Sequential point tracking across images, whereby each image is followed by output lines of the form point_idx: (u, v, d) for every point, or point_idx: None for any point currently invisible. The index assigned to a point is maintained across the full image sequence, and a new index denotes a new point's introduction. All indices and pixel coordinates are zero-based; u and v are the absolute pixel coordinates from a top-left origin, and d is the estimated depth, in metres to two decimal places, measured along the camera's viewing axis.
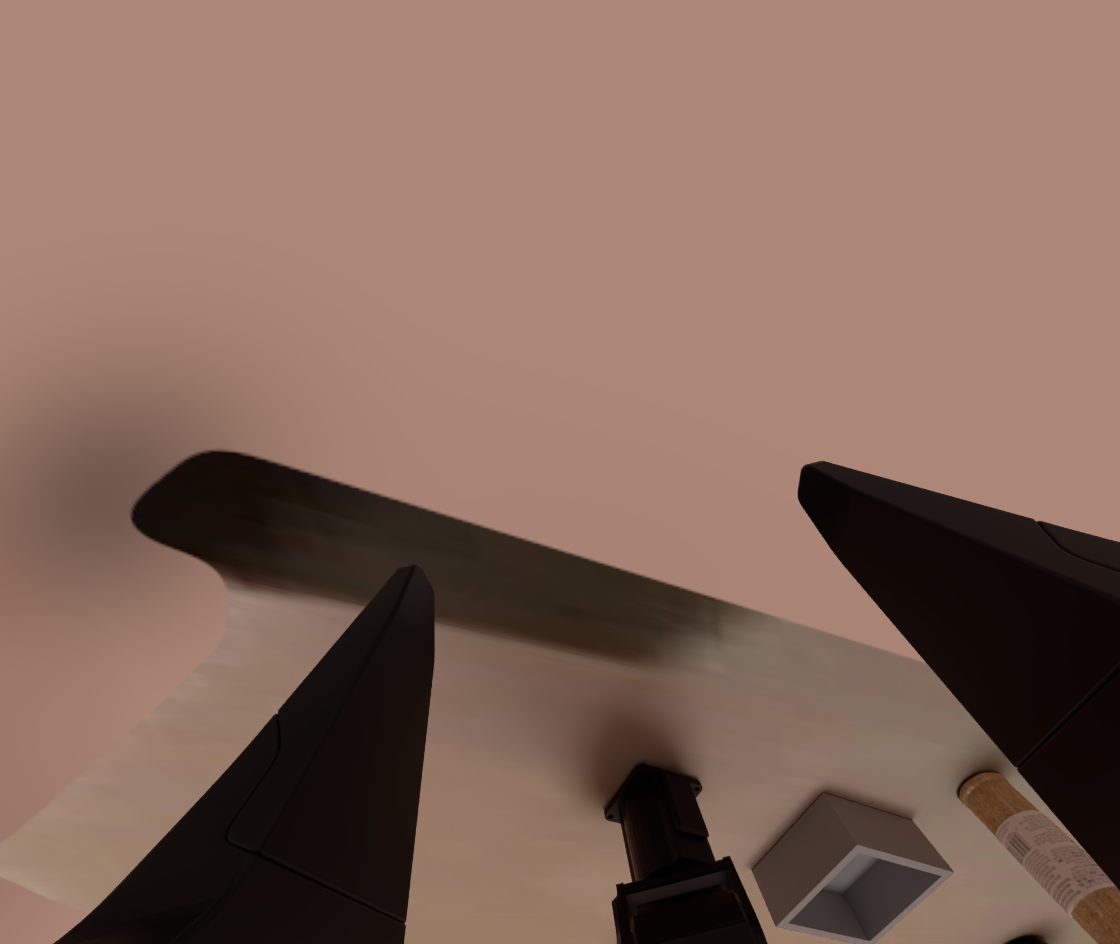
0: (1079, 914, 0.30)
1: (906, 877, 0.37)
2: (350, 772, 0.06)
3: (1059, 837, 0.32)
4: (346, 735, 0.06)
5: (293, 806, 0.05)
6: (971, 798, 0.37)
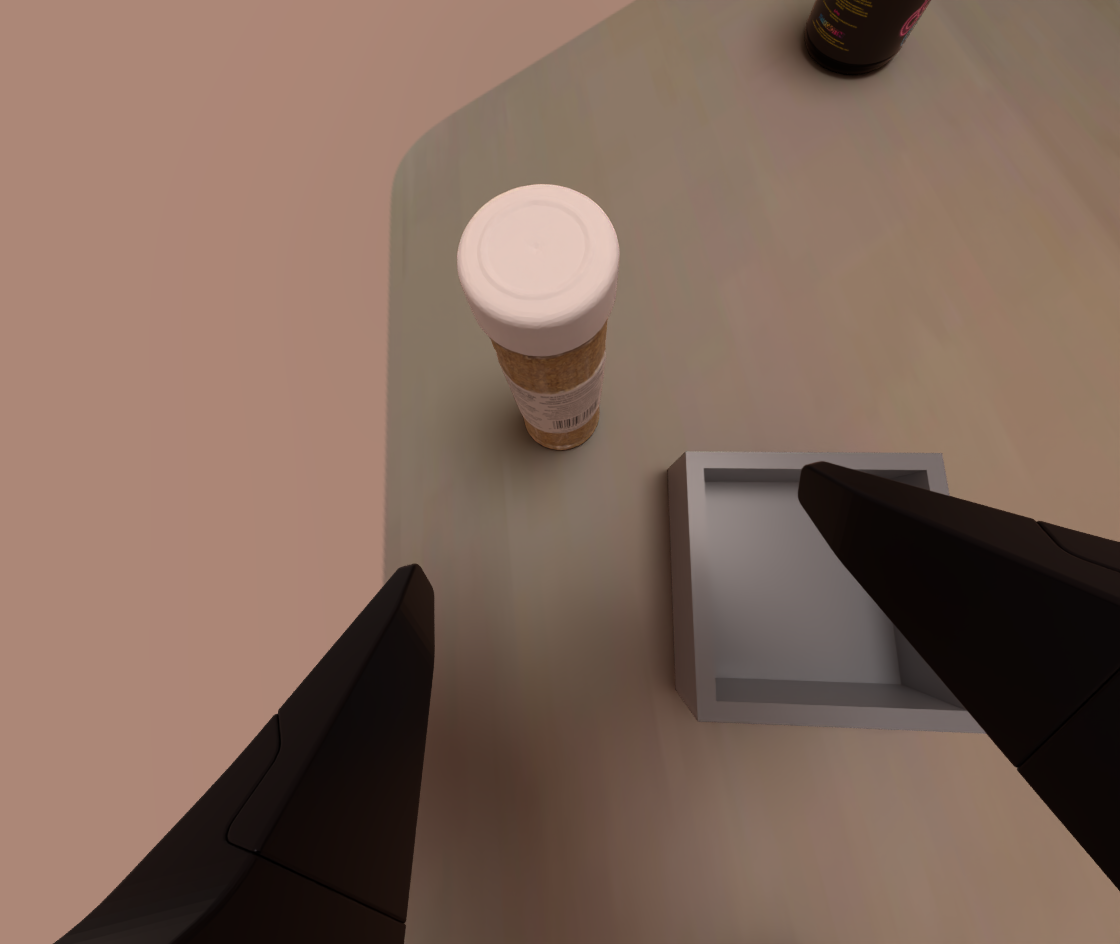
0: (577, 381, 0.15)
1: (755, 474, 0.20)
2: (350, 772, 0.06)
3: (513, 395, 0.18)
4: (346, 735, 0.06)
5: (293, 806, 0.05)
6: (572, 441, 0.22)
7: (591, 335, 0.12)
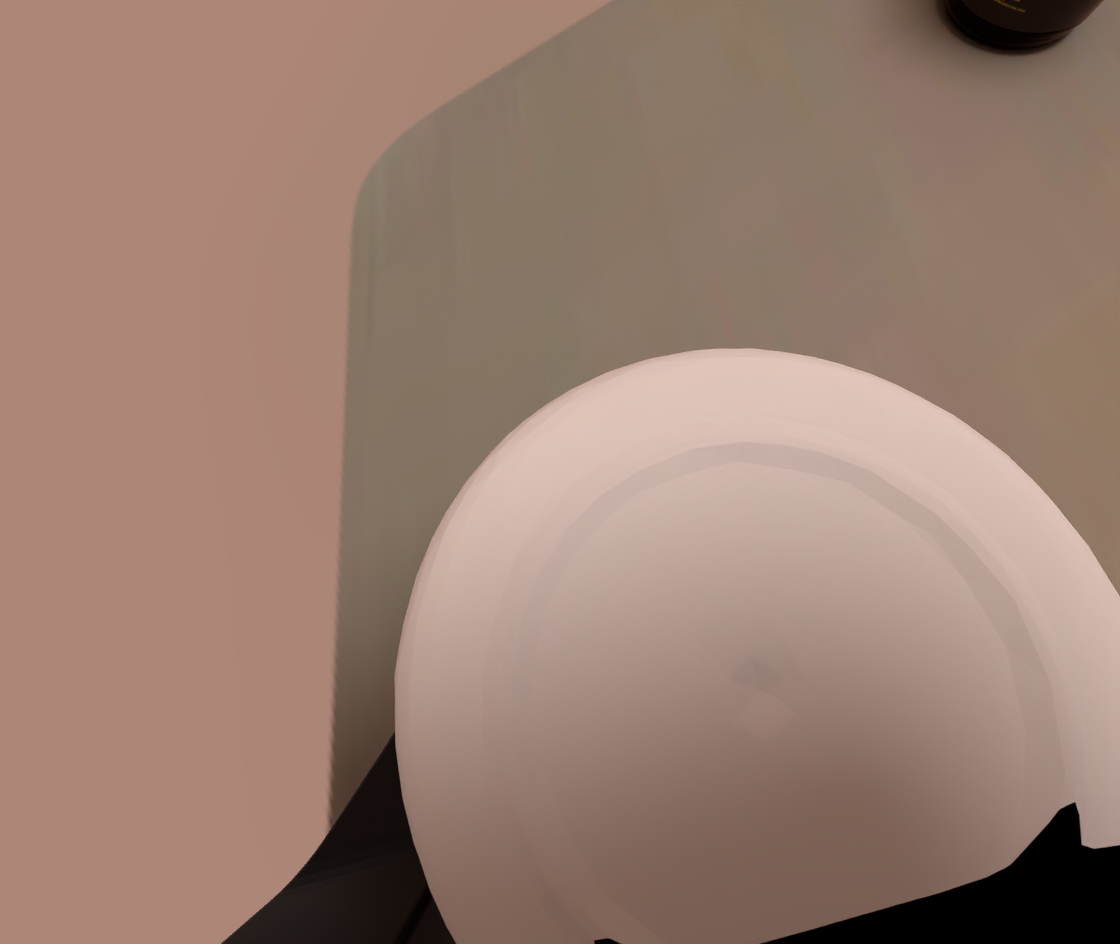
0: None
1: None
2: None
3: None
4: None
5: None
6: None
7: None
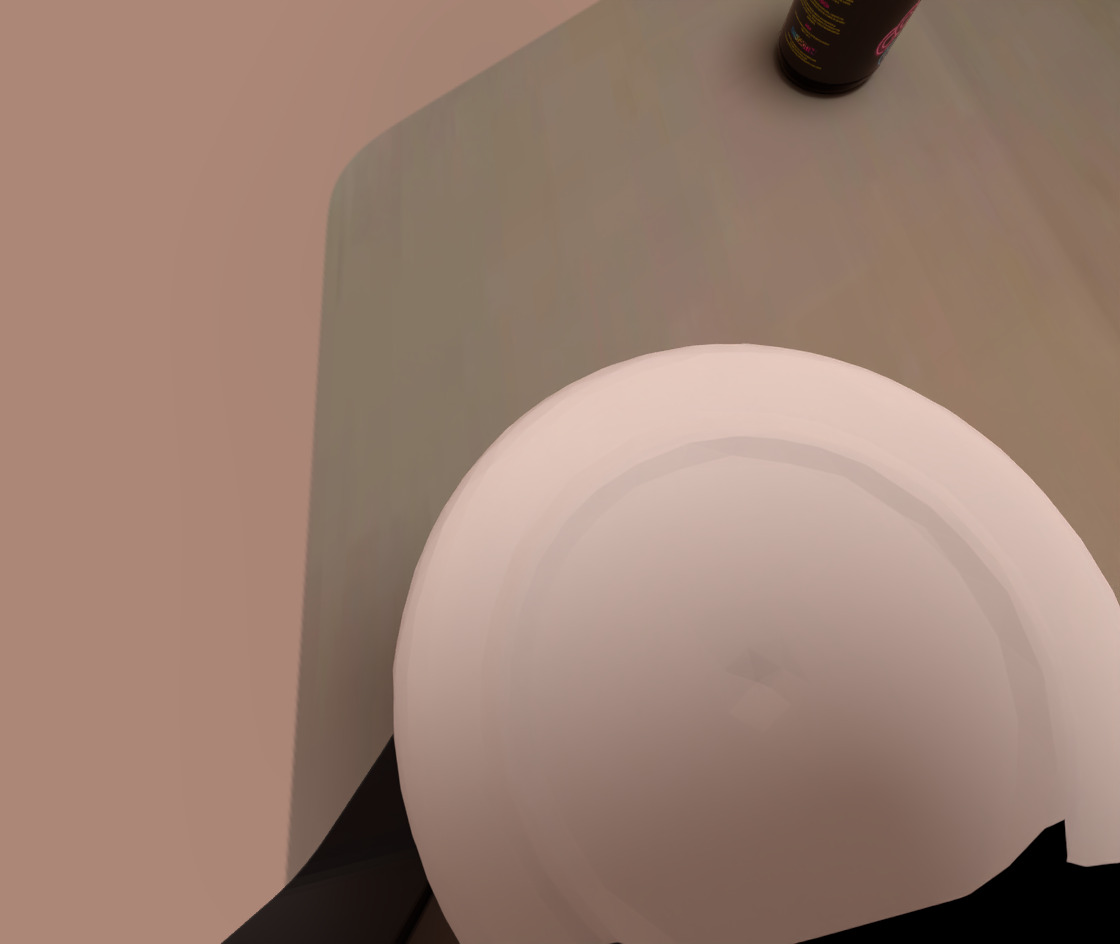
0: None
1: None
2: None
3: None
4: None
5: None
6: None
7: None
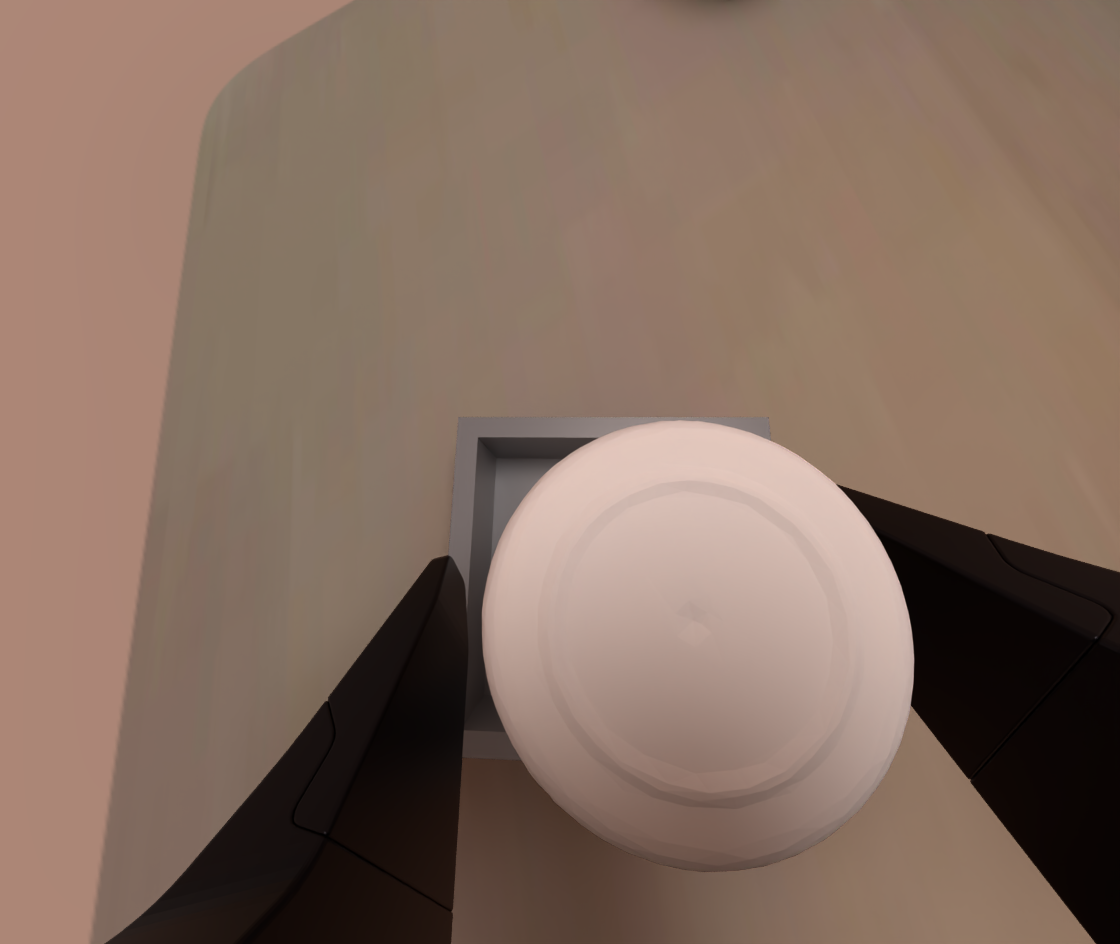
0: None
1: (557, 447, 0.16)
2: (402, 759, 0.06)
3: None
4: (398, 722, 0.06)
5: (355, 790, 0.05)
6: None
7: None
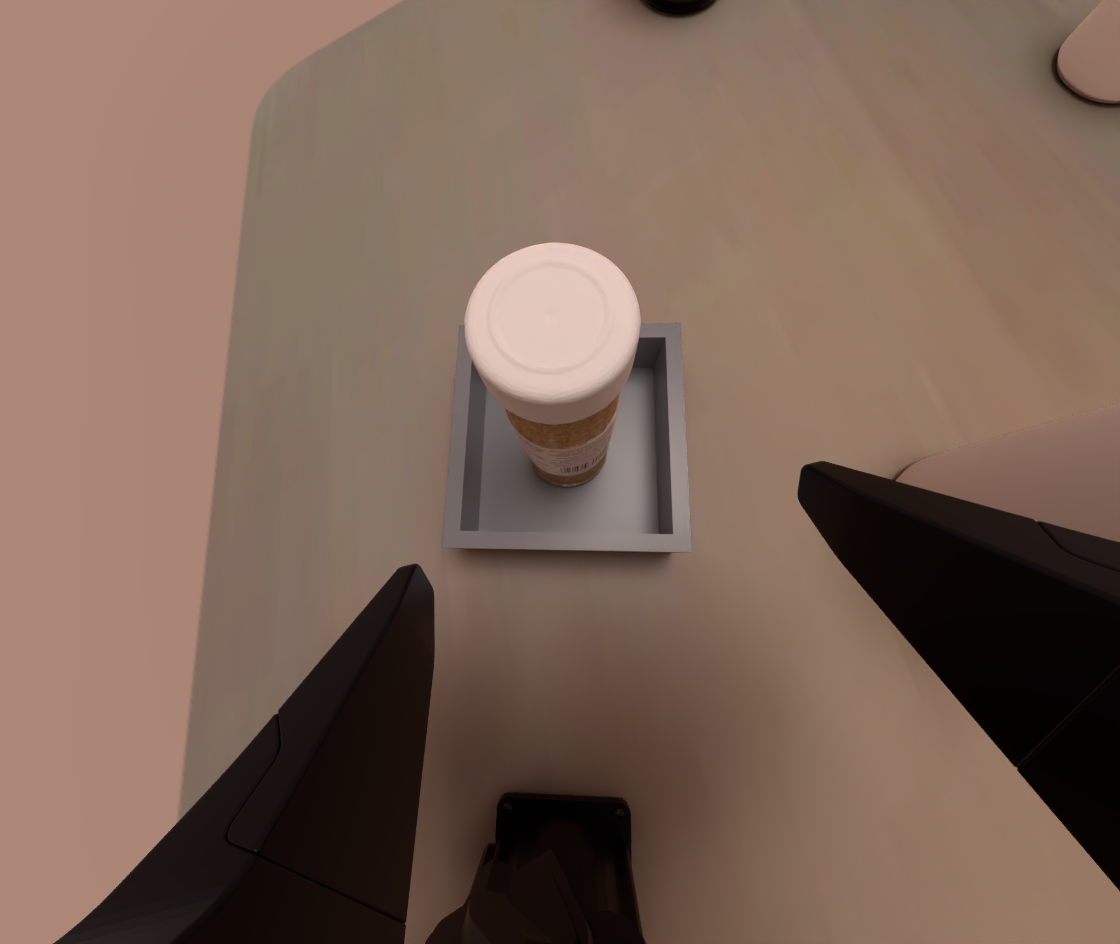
0: (589, 437, 0.14)
1: None
2: (350, 772, 0.06)
3: None
4: (346, 735, 0.06)
5: (293, 806, 0.05)
6: (579, 480, 0.22)
7: (607, 403, 0.11)
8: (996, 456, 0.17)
